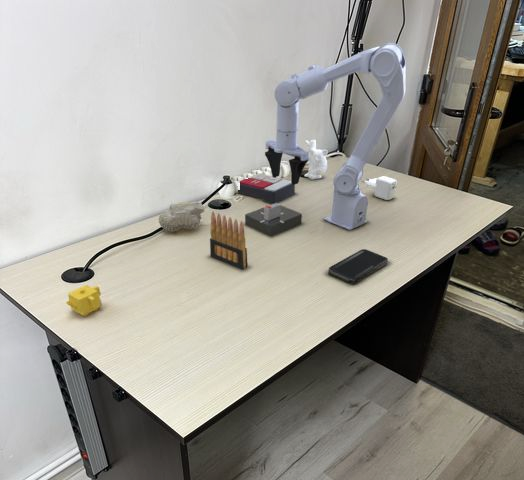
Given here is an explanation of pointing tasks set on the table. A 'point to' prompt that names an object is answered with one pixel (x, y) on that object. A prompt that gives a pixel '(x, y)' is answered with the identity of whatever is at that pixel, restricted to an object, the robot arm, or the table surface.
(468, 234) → the table surface
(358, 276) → the phone
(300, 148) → the robot arm
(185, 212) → the fossil replica
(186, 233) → the table surface
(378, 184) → the power adapter
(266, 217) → the knob
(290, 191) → the red and grey box
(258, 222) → the panel
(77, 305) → the yellow knobbed block
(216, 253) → the ammunition clip
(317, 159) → the white animal figurine
